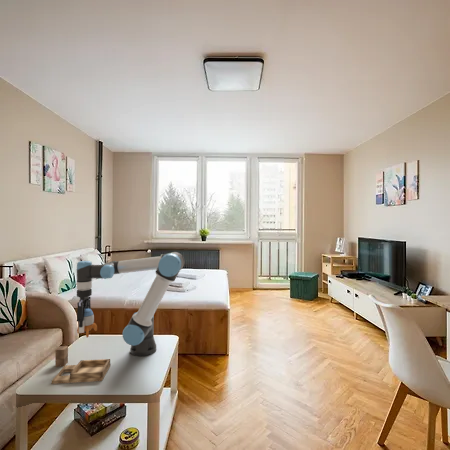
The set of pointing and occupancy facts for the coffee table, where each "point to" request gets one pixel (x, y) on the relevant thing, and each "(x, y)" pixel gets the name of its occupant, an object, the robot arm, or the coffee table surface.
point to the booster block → (61, 356)
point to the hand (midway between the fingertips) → (84, 329)
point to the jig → (83, 371)
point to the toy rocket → (88, 322)
